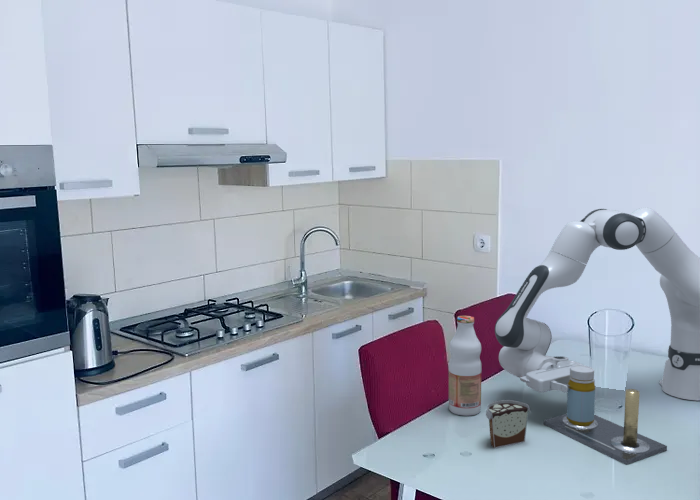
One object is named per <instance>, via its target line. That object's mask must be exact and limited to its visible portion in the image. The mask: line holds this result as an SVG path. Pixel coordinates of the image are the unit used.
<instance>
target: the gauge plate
mask: <svg viewBox="0 0 700 500" xmlns="http://www.w3.org/2000/svg"><path fill="white" fill-rule="evenodd" d="M640 394H641V393H640V390H638V389H635V388H627V389H625V396H624V398H625V399H624V417H623V418H624V419H623V421H624V422H623V426H621V425H620V424H617V423H616V422H615V423H614V422H612V421H610V420H607V419H605V418H603V417H601V416H599V415H596V414H594V422H593V423H592V424H590V425H588V426H579V425H575V424H572V423H570V422H569V421H568V419H567V413H564V414H561V415H557V416H554V417H551V418H547V419H544V420H543V425H544V426H546V427H548V428H551V429H552V430H555V431H556V432H559V433H561V434H562V435H565V436H567V437H569V438H570V439H573V440H575V441H577V442H579V443H580V444H583V445H585V446H587V447H589V448H591V449H593V450H595V451H597V452H599V453H602V454H603V455H606V456H608V457H610V458H612V459H614V460H615V461H618V462H619V463H622V464H624V465H629V464H633V463H636V462H639V461H641V460H643V459H646V458H650V457H652V456H655V455H658V454H660V453H664V452H666V451H667V450H668V445H666V444H664V443H661V442H659V441H656V440H655V439H652V438H650V437H647V436H644V435H643V434H640V433H639V430H638V429H639V414H640V413H639V411H640Z"/></svg>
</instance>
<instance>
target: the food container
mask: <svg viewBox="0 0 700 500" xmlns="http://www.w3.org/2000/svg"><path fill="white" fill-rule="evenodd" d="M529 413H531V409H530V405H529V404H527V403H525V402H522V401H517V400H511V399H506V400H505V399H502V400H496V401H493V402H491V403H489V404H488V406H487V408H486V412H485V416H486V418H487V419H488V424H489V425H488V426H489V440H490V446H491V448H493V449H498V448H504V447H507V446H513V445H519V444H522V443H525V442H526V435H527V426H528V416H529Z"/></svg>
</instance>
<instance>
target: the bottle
mask: <svg viewBox="0 0 700 500" xmlns="http://www.w3.org/2000/svg"><path fill="white" fill-rule="evenodd" d="M583 365H584V364H583ZM583 365H575V366H571V367H570V380H569V382H568V385H570V391H569V392H566V393H567V396H566V397H567V398H566V414H567V419H568V421H569V422H570V423H572V424H575V425H579V426H588V425H590V424H592V423H593V422H594V415H595V405H596V404H595V400H596V385H595V384H596V383H595V384H594V380H595V379H594V378H595V369H594V368H593V367H591V366H588V365H585V366H583Z"/></svg>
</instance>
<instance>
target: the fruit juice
mask: <svg viewBox="0 0 700 500" xmlns="http://www.w3.org/2000/svg"><path fill="white" fill-rule="evenodd" d="M456 323H457V326H456V330H455V332H454V336H453V337H452V339H451V340H450V342H449V349H448V350H449V353H450V359H449V363H448V409H449V411H450V412H451V413H452V414H454V415H457V416H462V417H463V416H466V417H470V416H474V415H478V414H479V413H480V412H481V409H482V408H481V407H482V361H481V359H480V356H481V353H482V343H481V342H480V340H479V338H478V336H477V335H476V334H477V333H476V331H475V328H474V324H475V317H474V316H470V315H458V316H457V318H456Z"/></svg>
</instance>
